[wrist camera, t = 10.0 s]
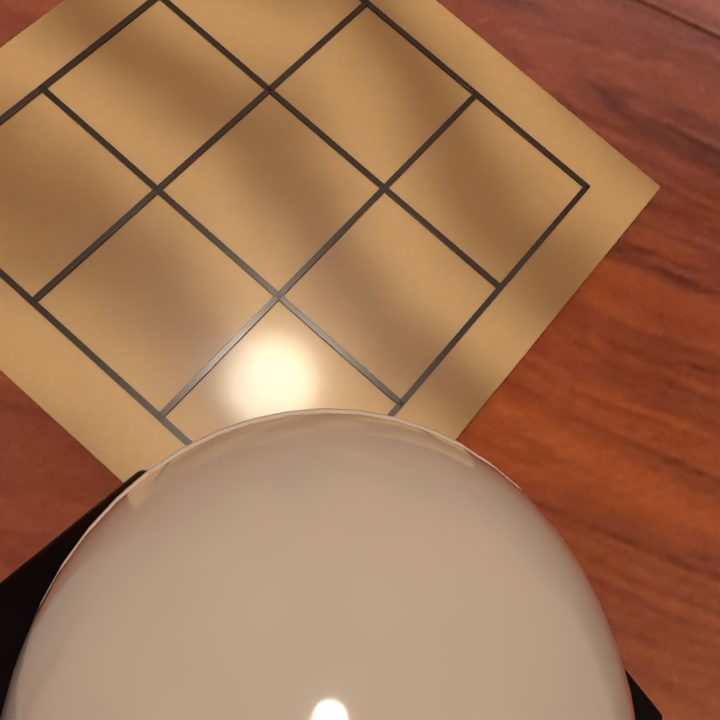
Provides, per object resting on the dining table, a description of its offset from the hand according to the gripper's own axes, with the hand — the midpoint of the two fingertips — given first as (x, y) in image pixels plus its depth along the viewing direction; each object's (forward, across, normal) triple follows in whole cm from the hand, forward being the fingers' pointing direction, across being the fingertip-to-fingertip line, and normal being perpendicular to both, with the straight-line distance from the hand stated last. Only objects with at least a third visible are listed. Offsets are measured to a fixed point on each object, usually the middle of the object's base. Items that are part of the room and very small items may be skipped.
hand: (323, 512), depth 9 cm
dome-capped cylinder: (+4, 0, +6) cm, 7 cm away
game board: (+18, +3, +1) cm, 18 cm away
